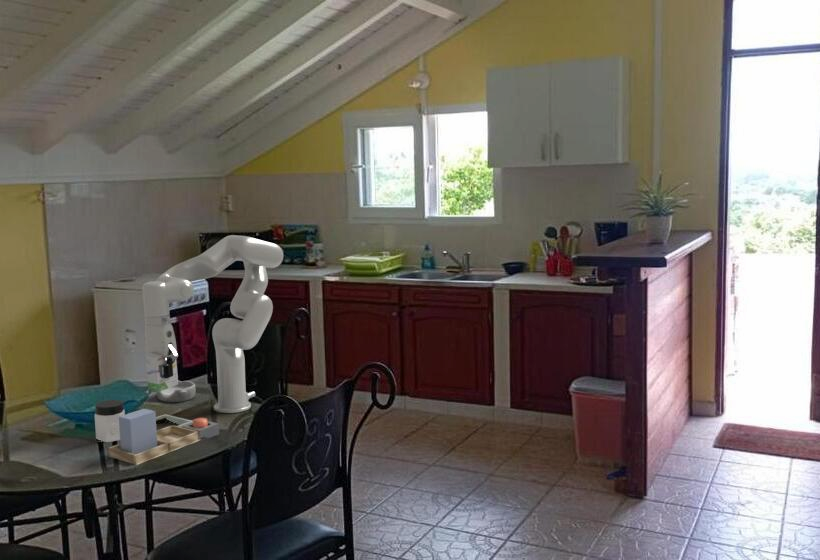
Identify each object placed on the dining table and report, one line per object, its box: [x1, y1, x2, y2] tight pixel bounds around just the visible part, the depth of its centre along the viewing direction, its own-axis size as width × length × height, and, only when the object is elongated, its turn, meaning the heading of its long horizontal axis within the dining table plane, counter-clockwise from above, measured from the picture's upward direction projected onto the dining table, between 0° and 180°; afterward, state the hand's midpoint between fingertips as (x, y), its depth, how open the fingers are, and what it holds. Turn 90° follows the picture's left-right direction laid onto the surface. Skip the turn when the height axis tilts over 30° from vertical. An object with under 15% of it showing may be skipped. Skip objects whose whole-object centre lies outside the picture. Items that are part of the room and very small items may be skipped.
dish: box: [155, 379, 196, 403], centre depth 303 cm, size 14×14×5 cm
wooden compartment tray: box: [107, 424, 201, 466], centre depth 248 cm, size 24×13×4 cm, turn 147°
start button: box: [192, 417, 208, 429], centre depth 261 cm, size 4×4×4 cm
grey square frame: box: [182, 420, 220, 439], centre depth 262 cm, size 8×8×4 cm
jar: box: [94, 399, 126, 443], centre depth 257 cm, size 9×8×12 cm
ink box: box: [145, 353, 179, 393], centre depth 266 cm, size 9×5×12 cm, turn 148°
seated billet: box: [119, 408, 158, 454], centre depth 242 cm, size 9×5×12 cm, turn 147°
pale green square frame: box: [156, 413, 193, 427], centre depth 268 cm, size 14×14×2 cm
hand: (162, 375), depth 266 cm, fingers closed on ink box, 5 cm apart
